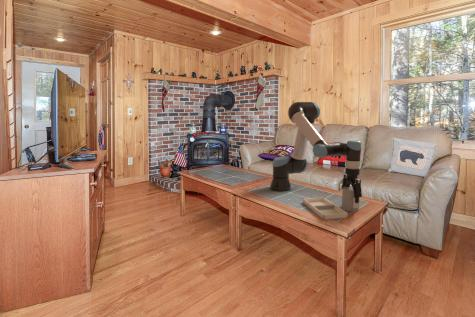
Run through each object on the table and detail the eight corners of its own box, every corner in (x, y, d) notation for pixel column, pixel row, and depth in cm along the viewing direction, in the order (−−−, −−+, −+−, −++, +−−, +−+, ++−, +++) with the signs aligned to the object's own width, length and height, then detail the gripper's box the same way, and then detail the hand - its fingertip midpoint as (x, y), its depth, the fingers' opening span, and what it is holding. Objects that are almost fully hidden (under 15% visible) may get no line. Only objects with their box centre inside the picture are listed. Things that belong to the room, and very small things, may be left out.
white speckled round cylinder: (343, 204, 164) (344, 185, 162) (360, 207, 158) (361, 187, 156) (339, 209, 156) (340, 188, 154) (357, 212, 151) (358, 191, 149)
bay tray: (303, 202, 168) (303, 198, 168) (324, 201, 170) (324, 197, 170) (323, 219, 141) (323, 214, 141) (348, 217, 143) (348, 213, 143)
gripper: (371, 171, 143) (368, 211, 147) (347, 163, 165) (345, 198, 168) (358, 172, 142) (355, 212, 145) (336, 164, 163) (334, 199, 167)
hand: (350, 204), depth 157 cm, fingers open, 10 cm apart
